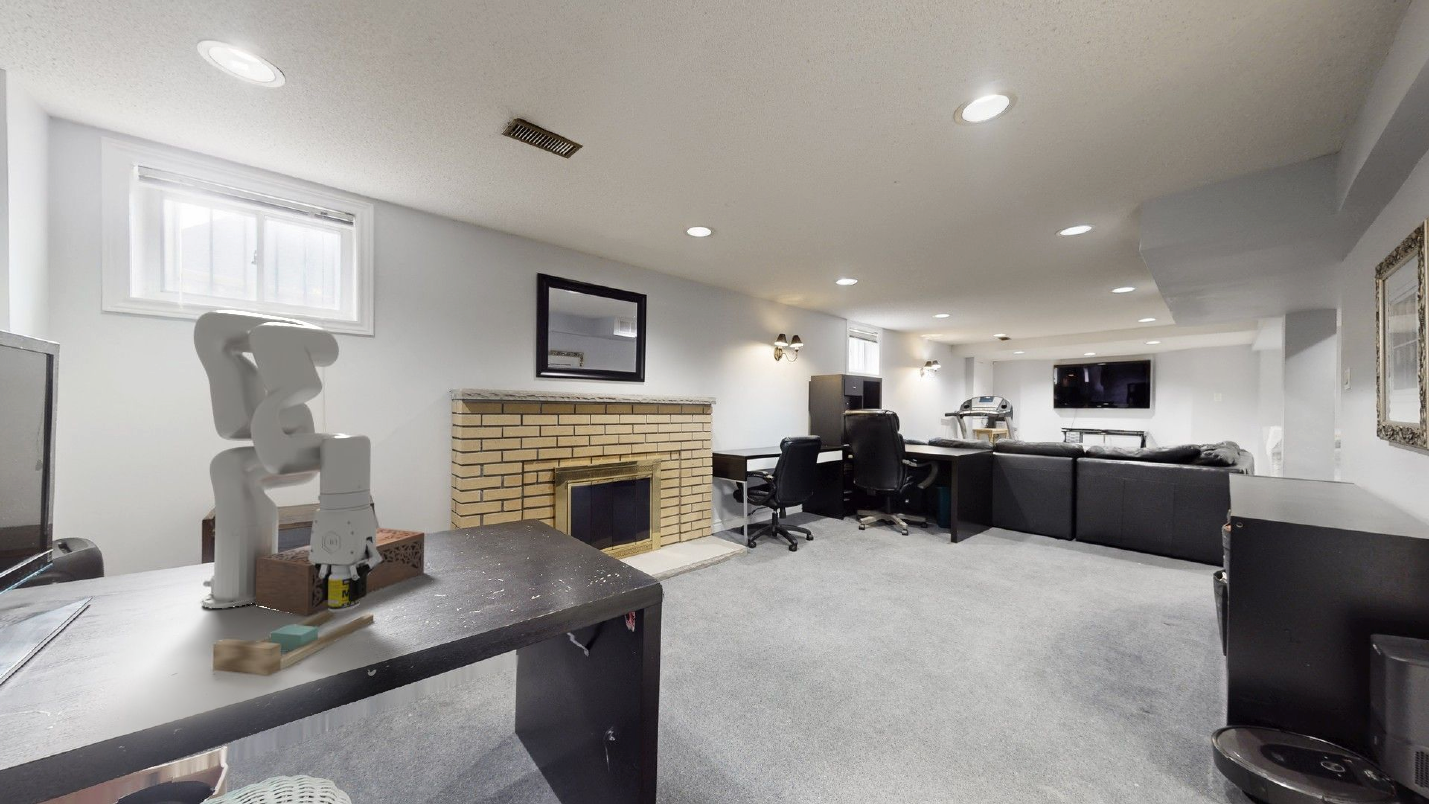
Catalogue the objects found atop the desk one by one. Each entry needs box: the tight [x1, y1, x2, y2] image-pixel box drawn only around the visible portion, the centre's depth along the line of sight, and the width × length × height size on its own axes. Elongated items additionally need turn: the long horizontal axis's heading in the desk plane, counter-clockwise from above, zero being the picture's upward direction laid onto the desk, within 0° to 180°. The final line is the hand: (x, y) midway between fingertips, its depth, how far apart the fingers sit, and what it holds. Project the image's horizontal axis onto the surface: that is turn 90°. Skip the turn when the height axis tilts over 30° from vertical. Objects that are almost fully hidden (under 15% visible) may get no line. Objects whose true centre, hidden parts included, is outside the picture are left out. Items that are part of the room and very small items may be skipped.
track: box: [212, 610, 374, 677], centre depth 82 cm, size 10×19×4 cm, turn 172°
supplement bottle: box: [327, 565, 361, 613], centre depth 90 cm, size 5×5×8 cm
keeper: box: [269, 624, 319, 652], centre depth 81 cm, size 6×3×3 cm, turn 82°
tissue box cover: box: [255, 527, 425, 618], centre depth 106 cm, size 26×14×10 cm, turn 163°
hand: (344, 597), depth 90 cm, fingers closed on supplement bottle, 4 cm apart
